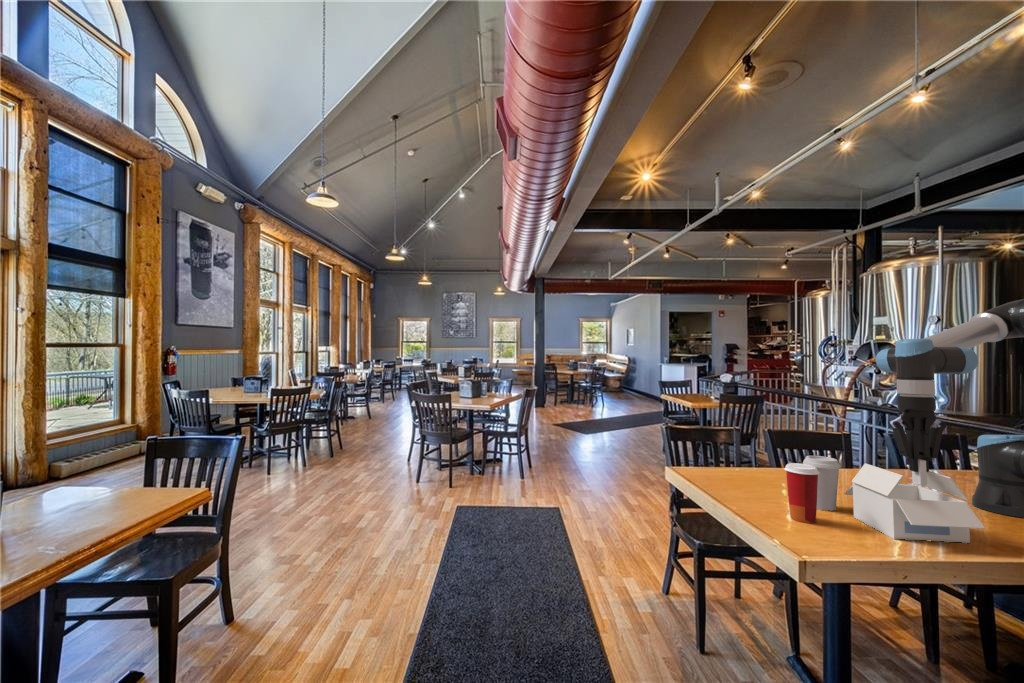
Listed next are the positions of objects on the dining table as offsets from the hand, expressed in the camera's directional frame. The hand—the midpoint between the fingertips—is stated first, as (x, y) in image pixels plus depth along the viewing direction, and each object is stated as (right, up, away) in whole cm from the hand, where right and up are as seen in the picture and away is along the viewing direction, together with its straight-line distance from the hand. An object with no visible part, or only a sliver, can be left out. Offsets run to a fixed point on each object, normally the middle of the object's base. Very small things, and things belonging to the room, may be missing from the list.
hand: (919, 483), depth 113 cm
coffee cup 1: (-27, -13, +7) cm, 30 cm away
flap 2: (+4, +1, 0) cm, 4 cm away
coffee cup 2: (-13, -13, +17) cm, 25 cm away
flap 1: (-10, +1, +1) cm, 10 cm away
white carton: (-4, -12, 0) cm, 13 cm away
